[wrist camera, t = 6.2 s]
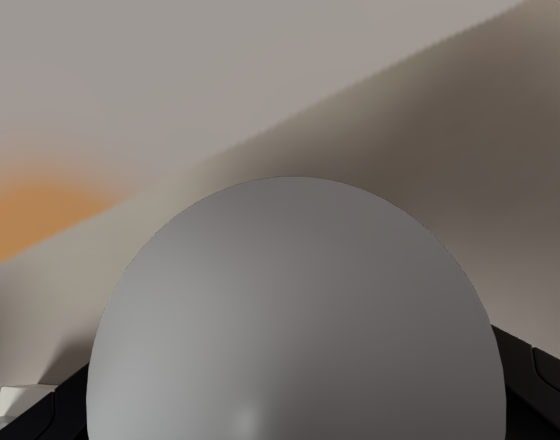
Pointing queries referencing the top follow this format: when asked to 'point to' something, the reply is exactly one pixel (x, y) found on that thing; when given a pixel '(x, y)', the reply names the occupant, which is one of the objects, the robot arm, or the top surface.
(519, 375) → the robot arm
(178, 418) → the grey cylinder
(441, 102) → the top surface
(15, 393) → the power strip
